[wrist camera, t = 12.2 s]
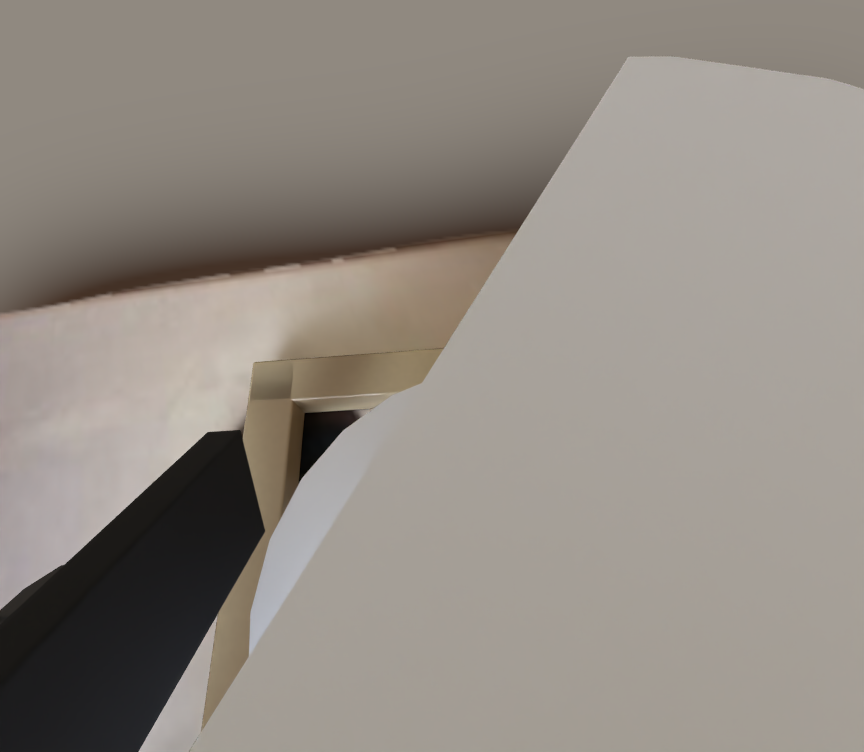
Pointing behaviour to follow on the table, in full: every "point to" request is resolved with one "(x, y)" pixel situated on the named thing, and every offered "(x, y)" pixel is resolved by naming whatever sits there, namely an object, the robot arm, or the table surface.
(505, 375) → the base with upright slab
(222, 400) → the table surface
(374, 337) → the table surface
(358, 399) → the bay
